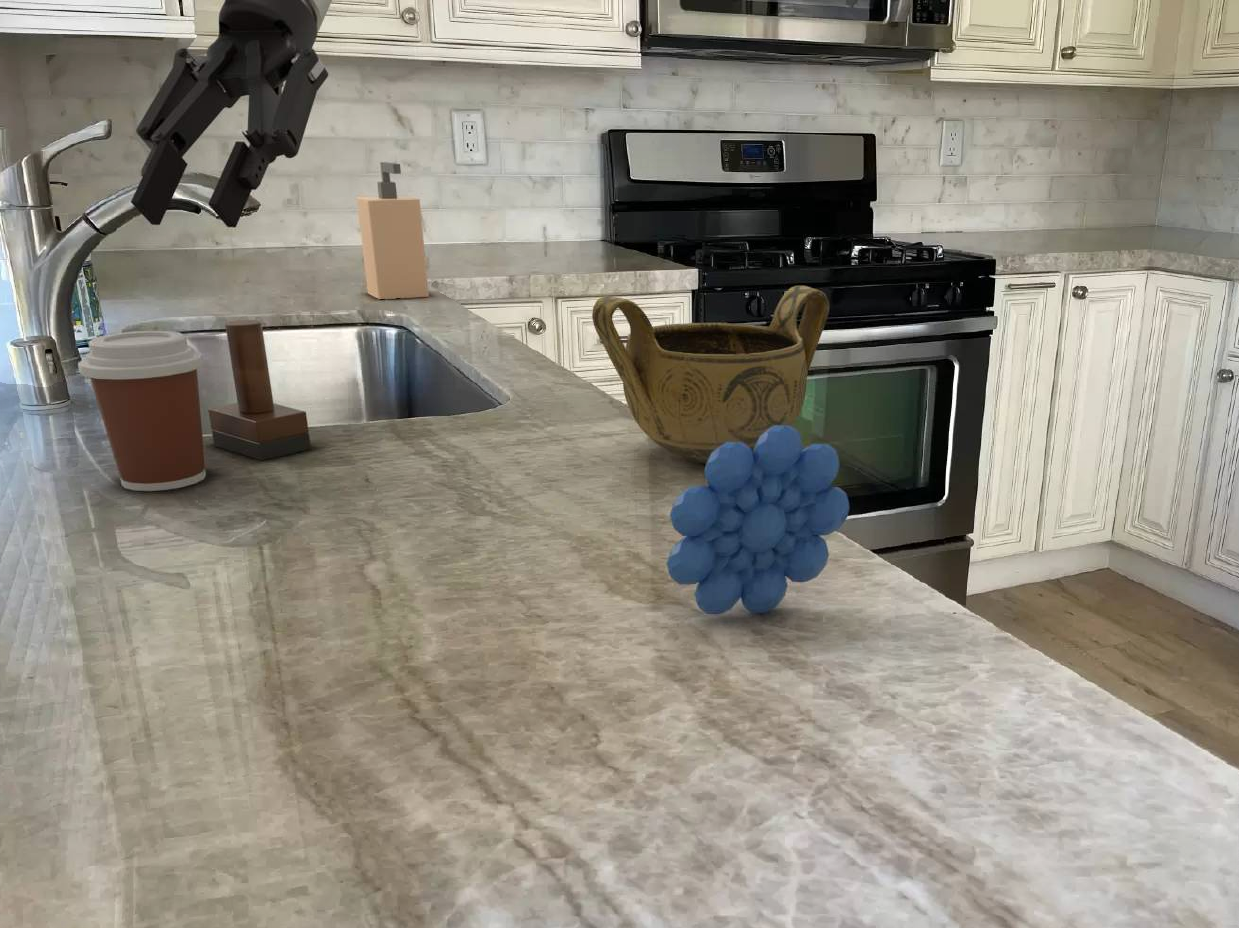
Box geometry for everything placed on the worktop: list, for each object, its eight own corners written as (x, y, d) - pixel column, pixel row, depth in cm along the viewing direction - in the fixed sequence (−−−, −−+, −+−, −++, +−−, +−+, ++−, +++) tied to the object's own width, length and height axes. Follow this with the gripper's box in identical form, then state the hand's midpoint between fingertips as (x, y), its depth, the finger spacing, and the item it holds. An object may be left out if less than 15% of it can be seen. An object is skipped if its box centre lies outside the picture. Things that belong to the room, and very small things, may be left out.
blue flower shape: (820, 577, 76) (825, 403, 72) (859, 616, 70) (868, 429, 66) (652, 597, 73) (647, 415, 69) (678, 639, 67) (675, 444, 63)
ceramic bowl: (645, 497, 92) (640, 312, 87) (567, 448, 106) (558, 285, 100) (866, 460, 103) (873, 293, 98) (769, 420, 117) (771, 271, 111)
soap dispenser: (367, 293, 199) (352, 161, 191) (416, 290, 203) (403, 161, 195) (384, 303, 189) (369, 164, 181) (435, 299, 193) (423, 163, 185)
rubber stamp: (213, 446, 106) (192, 321, 101) (263, 435, 109) (244, 314, 105) (261, 461, 101) (241, 331, 97) (311, 449, 105) (294, 323, 101)
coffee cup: (132, 465, 100) (105, 328, 95) (238, 463, 100) (216, 328, 96) (82, 496, 91) (50, 348, 87) (199, 495, 92) (172, 347, 87)
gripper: (394, 44, 101) (314, 249, 93) (205, 45, 105) (111, 241, 96) (354, -30, 95) (264, 184, 86) (154, -26, 99) (48, 179, 90)
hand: (183, 214), depth 91 cm, fingers open, 6 cm apart
